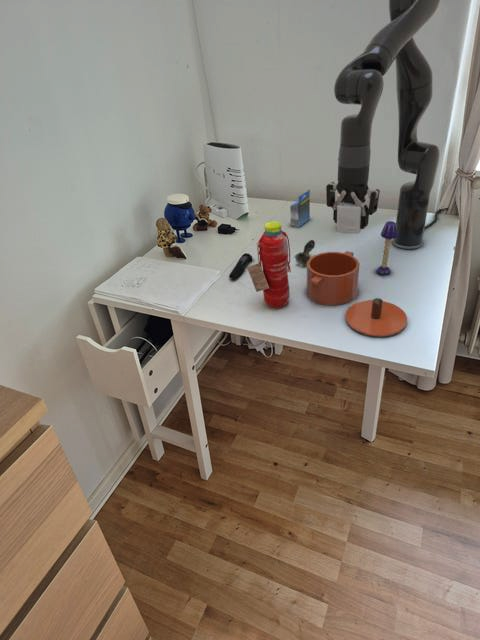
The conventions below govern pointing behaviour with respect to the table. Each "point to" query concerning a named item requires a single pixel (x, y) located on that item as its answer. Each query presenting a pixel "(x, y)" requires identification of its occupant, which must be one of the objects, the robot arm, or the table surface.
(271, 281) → the water bottle
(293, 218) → the tape cartridge
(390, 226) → the purple tan pedestal column
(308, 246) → the eagle figurine
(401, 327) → the pot lid
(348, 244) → the table surface
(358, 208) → the white cardboard box
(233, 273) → the electric trimmer
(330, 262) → the pot
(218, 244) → the table surface
